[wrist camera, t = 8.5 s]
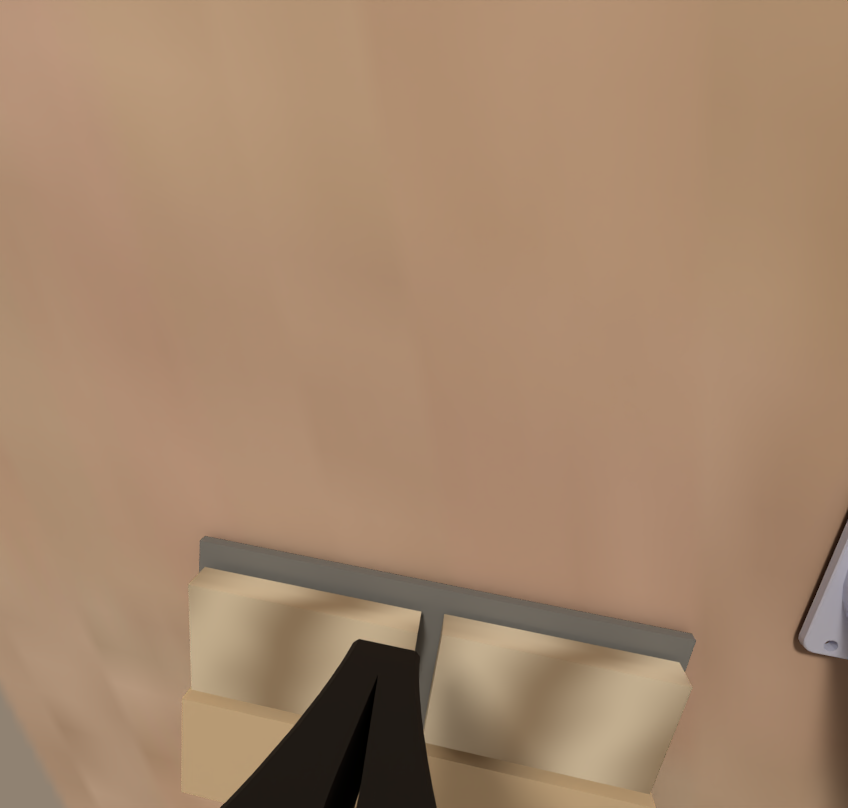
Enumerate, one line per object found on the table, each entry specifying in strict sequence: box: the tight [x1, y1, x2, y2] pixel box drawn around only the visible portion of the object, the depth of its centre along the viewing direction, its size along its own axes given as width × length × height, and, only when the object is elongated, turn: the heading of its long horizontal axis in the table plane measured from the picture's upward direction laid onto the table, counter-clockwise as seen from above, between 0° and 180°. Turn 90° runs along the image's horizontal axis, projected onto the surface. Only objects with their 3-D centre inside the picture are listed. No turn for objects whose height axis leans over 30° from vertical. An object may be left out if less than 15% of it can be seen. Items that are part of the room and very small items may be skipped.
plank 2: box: [424, 614, 692, 794], centre depth 19 cm, size 10×6×1 cm, turn 82°
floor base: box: [181, 536, 696, 808], centre depth 21 cm, size 22×14×2 cm, turn 82°
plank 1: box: [188, 567, 421, 715], centre depth 20 cm, size 10×6×1 cm, turn 82°
